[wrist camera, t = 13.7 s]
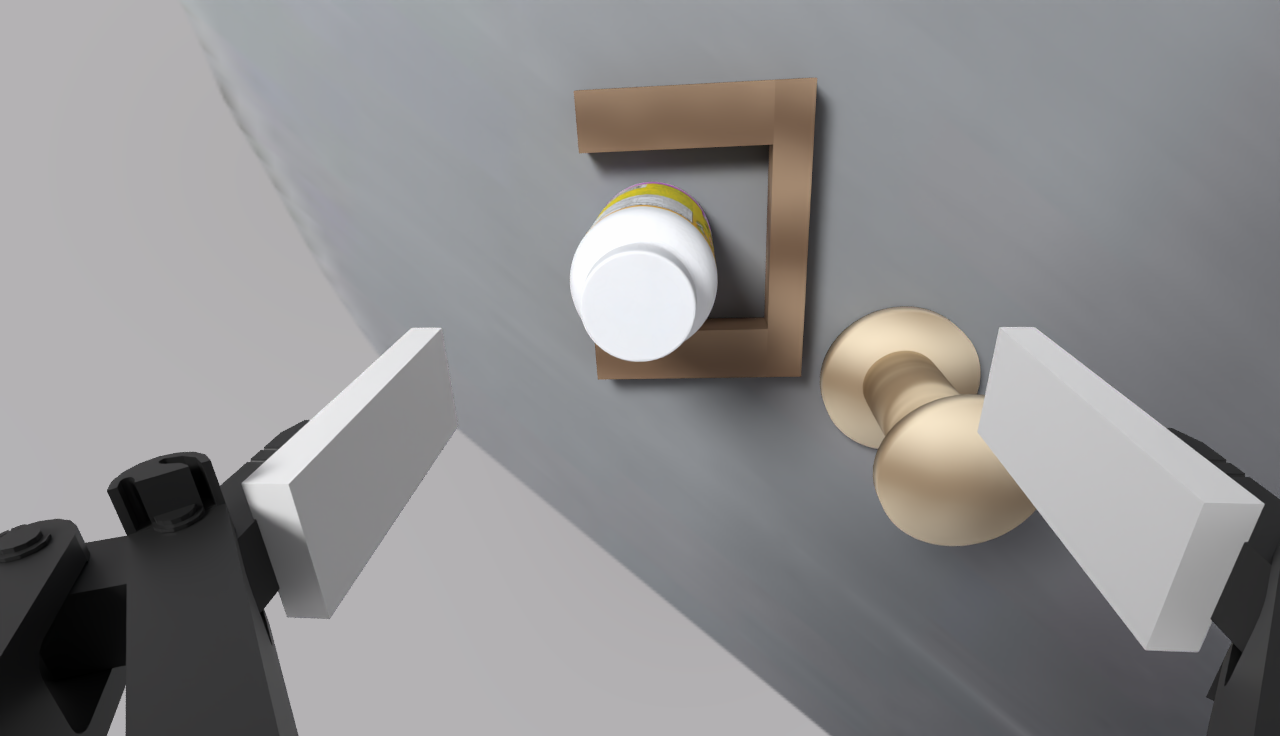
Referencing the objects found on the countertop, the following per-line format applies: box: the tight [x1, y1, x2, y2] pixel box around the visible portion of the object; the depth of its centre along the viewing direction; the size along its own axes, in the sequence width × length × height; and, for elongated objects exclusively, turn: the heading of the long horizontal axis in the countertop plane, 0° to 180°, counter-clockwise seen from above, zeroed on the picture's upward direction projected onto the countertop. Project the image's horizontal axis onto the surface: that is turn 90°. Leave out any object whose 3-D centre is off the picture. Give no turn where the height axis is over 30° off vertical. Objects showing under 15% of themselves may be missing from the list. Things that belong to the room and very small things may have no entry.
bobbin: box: [820, 306, 1036, 546], centre depth 35 cm, size 9×9×11 cm
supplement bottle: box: [570, 182, 718, 362], centre depth 32 cm, size 7×7×13 cm
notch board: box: [574, 78, 817, 379], centre depth 36 cm, size 16×12×2 cm
